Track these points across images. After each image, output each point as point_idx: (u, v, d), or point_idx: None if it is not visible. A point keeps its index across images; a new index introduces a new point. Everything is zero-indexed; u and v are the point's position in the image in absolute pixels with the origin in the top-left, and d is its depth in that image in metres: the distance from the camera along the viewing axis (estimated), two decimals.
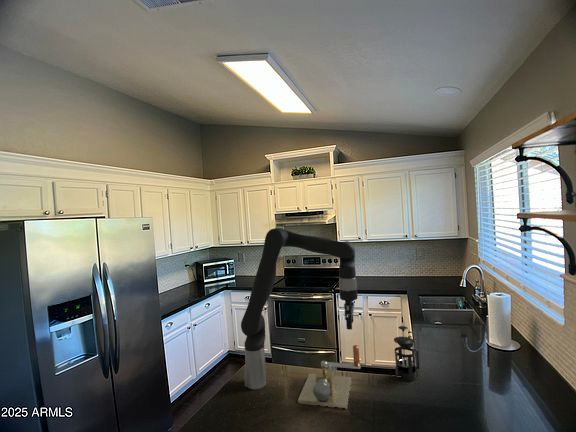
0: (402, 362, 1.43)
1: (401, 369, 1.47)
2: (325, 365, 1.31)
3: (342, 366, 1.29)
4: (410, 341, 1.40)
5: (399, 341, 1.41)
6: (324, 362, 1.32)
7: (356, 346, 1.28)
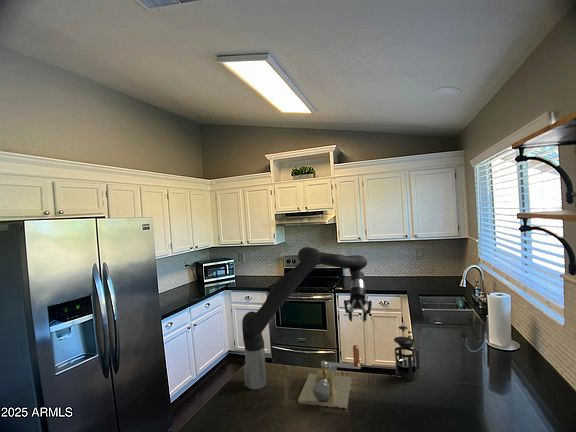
0: (402, 362, 1.43)
1: (401, 369, 1.47)
2: (325, 365, 1.31)
3: (342, 366, 1.29)
4: (410, 341, 1.40)
5: (399, 341, 1.41)
6: (324, 362, 1.32)
7: (356, 346, 1.28)
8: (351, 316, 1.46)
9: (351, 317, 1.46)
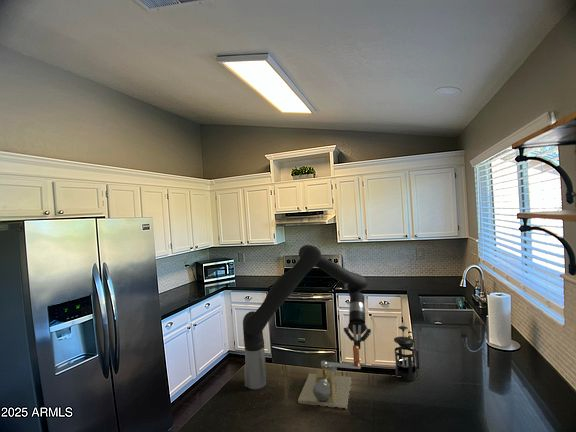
0: (402, 362, 1.43)
1: (401, 369, 1.47)
2: (325, 365, 1.31)
3: (342, 366, 1.29)
4: (410, 341, 1.40)
5: (399, 341, 1.41)
6: (324, 362, 1.32)
7: (356, 346, 1.28)
8: None
9: None
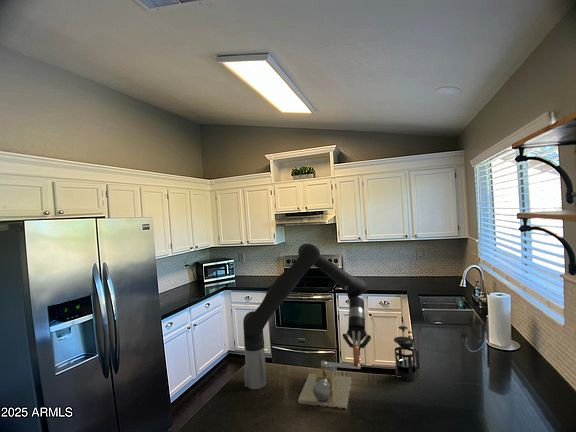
0: (402, 362, 1.43)
1: (401, 369, 1.47)
2: (325, 365, 1.31)
3: (342, 366, 1.29)
4: (410, 341, 1.40)
5: (399, 341, 1.41)
6: (324, 362, 1.32)
7: (356, 346, 1.28)
8: None
9: None
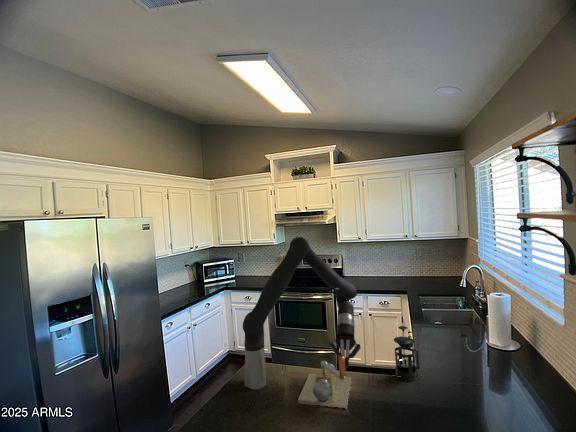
0: (402, 362, 1.43)
1: (401, 369, 1.47)
2: (322, 365, 1.31)
3: (332, 372, 1.25)
4: (410, 341, 1.40)
5: (399, 341, 1.41)
6: (323, 362, 1.32)
7: (341, 356, 1.19)
8: None
9: None
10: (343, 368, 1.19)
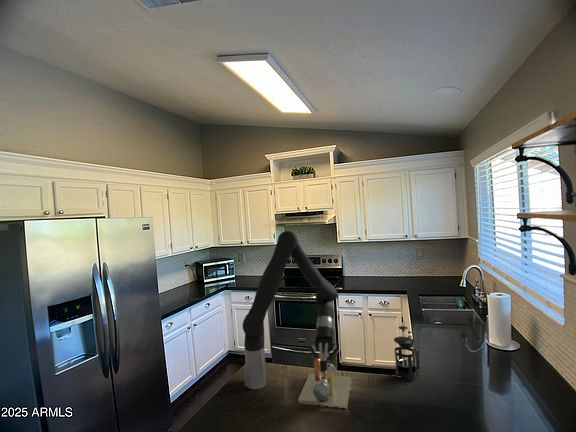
0: (402, 362, 1.43)
1: (401, 369, 1.47)
2: None
3: None
4: (410, 341, 1.40)
5: (399, 341, 1.41)
6: None
7: (316, 359, 1.19)
8: (322, 366, 1.20)
9: (322, 368, 1.20)
10: (316, 370, 1.18)
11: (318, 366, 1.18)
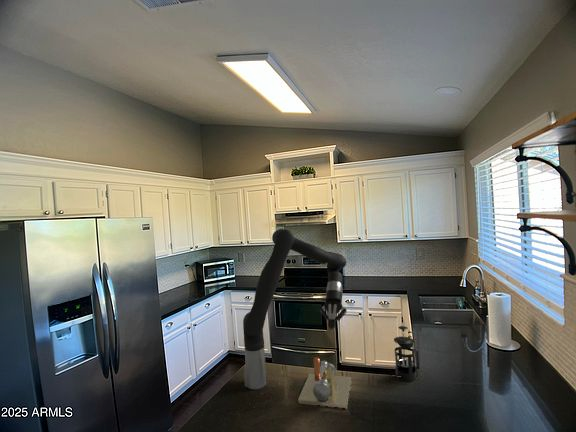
0: (402, 362, 1.43)
1: (401, 369, 1.47)
2: (321, 364, 1.32)
3: None
4: (410, 341, 1.40)
5: (399, 341, 1.41)
6: (323, 362, 1.32)
7: (316, 359, 1.19)
8: (331, 324, 1.33)
9: (331, 325, 1.33)
10: (316, 370, 1.18)
11: (318, 366, 1.18)
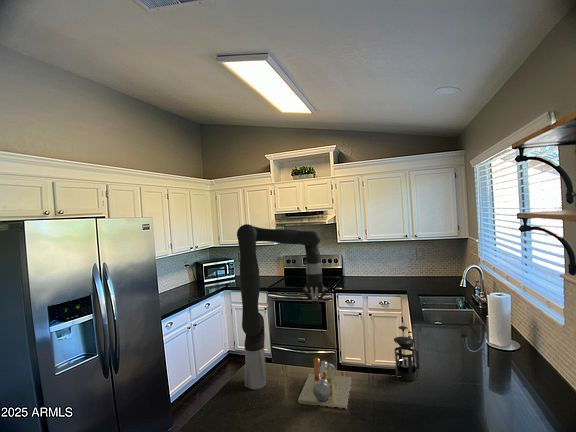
0: (402, 362, 1.43)
1: (401, 369, 1.47)
2: (321, 364, 1.32)
3: None
4: (410, 341, 1.40)
5: (399, 341, 1.41)
6: (323, 362, 1.32)
7: (316, 359, 1.19)
8: (315, 305, 1.46)
9: (315, 306, 1.46)
10: (316, 370, 1.18)
11: (318, 366, 1.18)
